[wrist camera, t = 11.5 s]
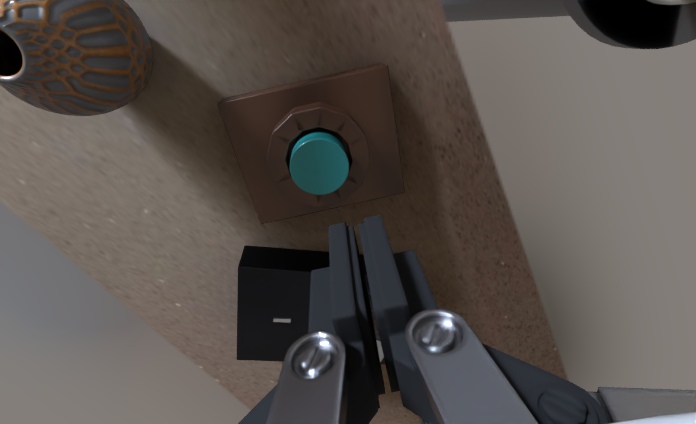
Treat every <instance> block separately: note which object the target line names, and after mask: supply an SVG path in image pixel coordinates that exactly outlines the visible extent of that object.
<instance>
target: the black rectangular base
mask: <svg viewBox="0 0 696 424" xmlns="http://www.w3.org/2000/svg"><path fill="white" fill-rule="evenodd" d="M360 259H361V263H362V268H363V272H364V276H365V281H366V285H367V288H368V289H370V288H369V282H368V277H367V271H366V265H365V260H364V255H361V254H360ZM326 267H330V260H329V252H322V251H309V250H296V249H283V248H270V247H256V246H245V247H244V250H243V253H242V256H241V260H240V263H239V266H238V311H237V360H260V361H284V358H285V356H286V353H287V351H288V349H289V348H290V347H291V346H292V344H293V343H294V342H295V341H297V340H298V339H299V338H300V337H302V336H304V335H306V334H308V330H309V307H310V284H311V271H312V270H316V269H321V268H326ZM380 364H385V359H384V358H383V359H382V361H381V362H380Z"/></svg>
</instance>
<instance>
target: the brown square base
mask: <svg viewBox="0 0 696 424" xmlns="http://www.w3.org/2000/svg"><path fill="white" fill-rule="evenodd" d="M217 105H218V108H219V111H220V113H221V116H222V119H223V121H224V124H225V127H226V130H227V132H228V135H229V138H230V141H231V143H232V146H233V149H234V151H235V154H236V157H237V160H238V162H239V165H240V168H241V170H242V173H243V176H244V179H245V181H246V184H247V187H248V190H249V192H250V195H251V198H252V200H253V203H254V206H255V209H256V211H257V214H258V217H259V219H260V222H261V224H264V223H268V222H273V221H278V220H282V219H287V218H291V217H296V216H300V215H305V214H309V213H314V212H319V211H323V210H328V209H332V208H337V207H341V206H346V205H350V204H355V203H359V202H364V201H369V200H373V199H378V198H382V197H387V196H391V195H396V194H400V193H404V192H405V190H404V183H403V176H402V168H401V161H400V153H399V146H398V138H397V131H396V123H395V116H394V109H393V101H392V94H391V86H390V79H389V71H388V66H387V65H386V64H383V63H380V64H376V65H371V66H367V67H362V68H358V69H353V70H349V71H344V72H340V73H335V74H331V75H327V76H322V77H318V78H313V79H309V80H304V81H300V82H295V83H291V84H286V85H282V86H278V87H273V88H269V89H264V90H260V91H255V92H251V93H246V94H242V95H237V96H233V97H229V98H224V99H222V100H221V101H220V102H219V103H217ZM311 132H326V133H329V134H332V135H333V136H335V137H336V138H338V139H339V140H340V141H341V143H342V144H343V146H344V148H345V150H346V154H347V158H348V161H349V173H348V176H347V178H346V180H345V182H344V183H343V184H342V186H341V187H340V188H338V189H337V190H335V191H334V192H331V193H329V194H324V195H315V194H310V193H308V192H305V191H304V190H302V189H301V188H299V187H298V186H297V185H296V183H295V182H294V181H293V179H292V176H291V173H290V159H291V153H292V150H293V147H294V145H295V144H296V142H297V141H298V140H299V139H300V138H301V137H302V136H304V135H306V134H308V133H311Z"/></svg>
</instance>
